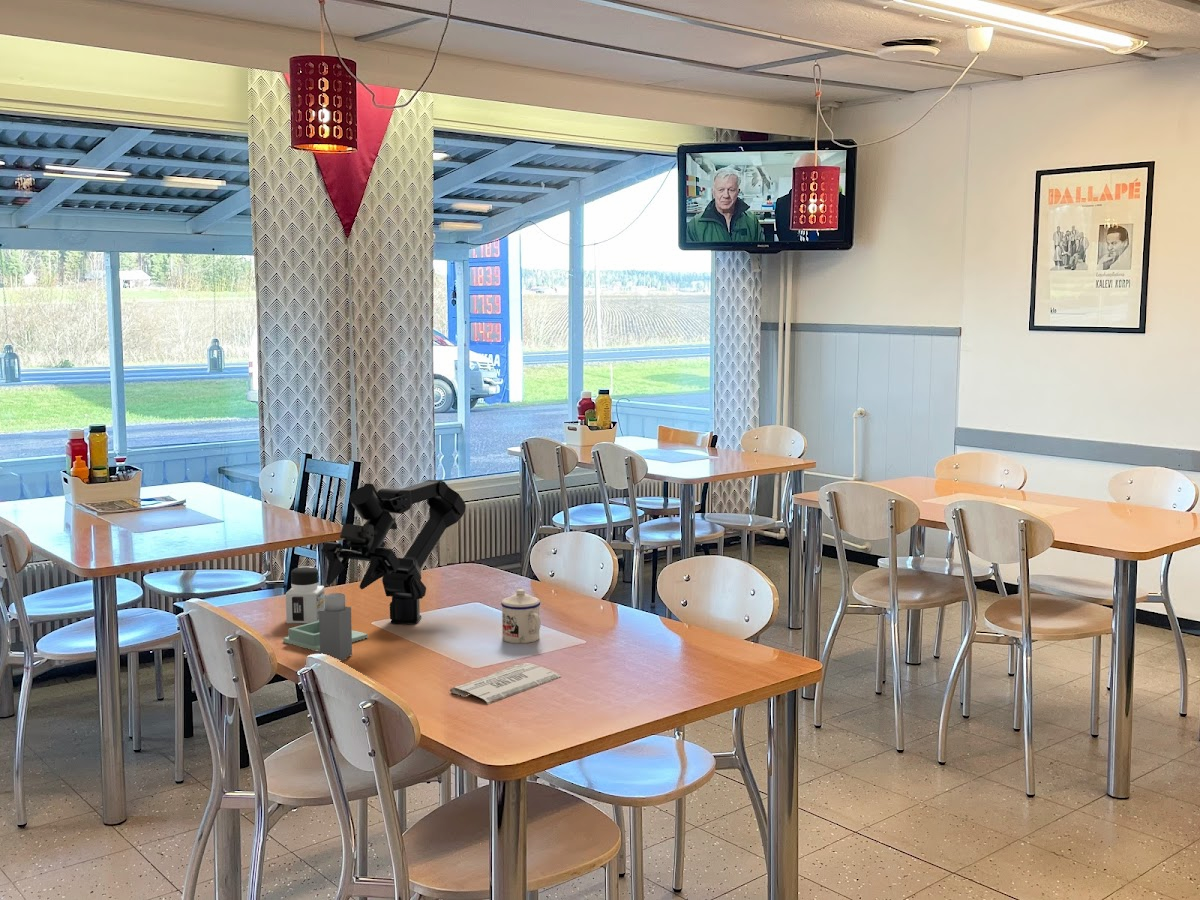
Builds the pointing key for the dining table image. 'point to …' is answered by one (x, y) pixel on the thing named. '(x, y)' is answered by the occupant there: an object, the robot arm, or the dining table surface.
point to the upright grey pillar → (335, 627)
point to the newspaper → (506, 682)
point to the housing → (312, 636)
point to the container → (304, 596)
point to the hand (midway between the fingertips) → (344, 586)
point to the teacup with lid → (520, 618)
